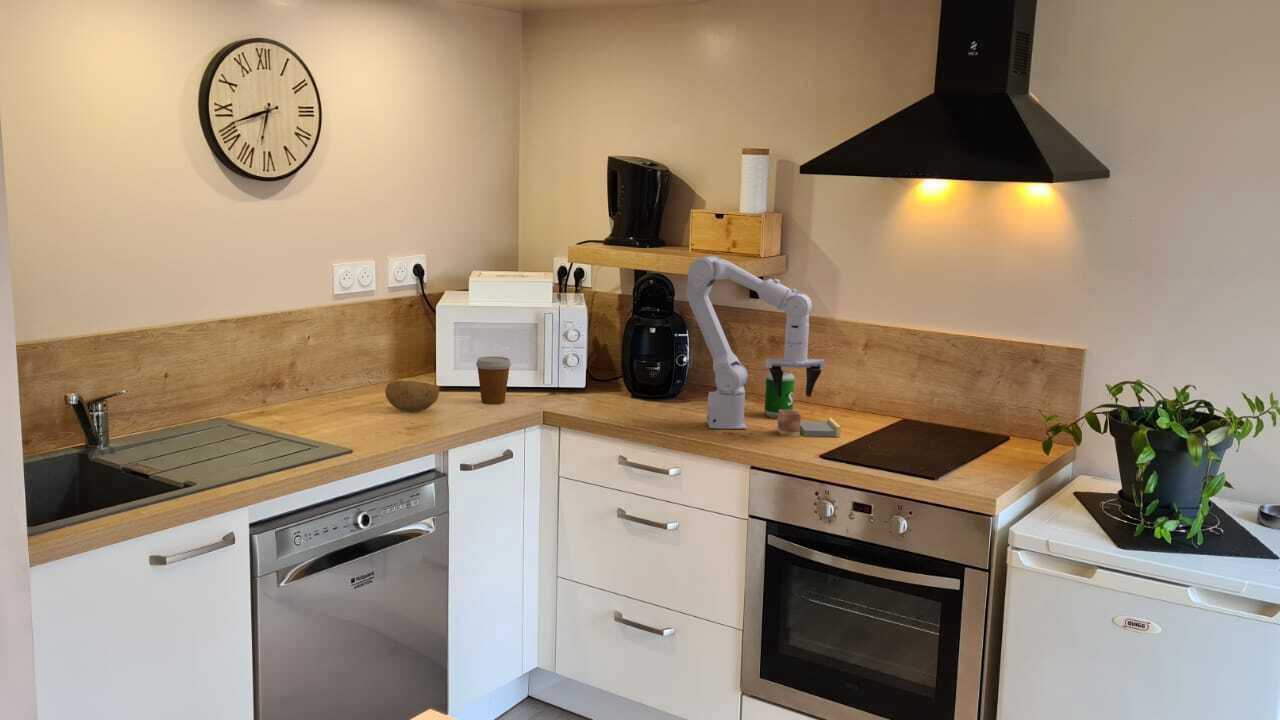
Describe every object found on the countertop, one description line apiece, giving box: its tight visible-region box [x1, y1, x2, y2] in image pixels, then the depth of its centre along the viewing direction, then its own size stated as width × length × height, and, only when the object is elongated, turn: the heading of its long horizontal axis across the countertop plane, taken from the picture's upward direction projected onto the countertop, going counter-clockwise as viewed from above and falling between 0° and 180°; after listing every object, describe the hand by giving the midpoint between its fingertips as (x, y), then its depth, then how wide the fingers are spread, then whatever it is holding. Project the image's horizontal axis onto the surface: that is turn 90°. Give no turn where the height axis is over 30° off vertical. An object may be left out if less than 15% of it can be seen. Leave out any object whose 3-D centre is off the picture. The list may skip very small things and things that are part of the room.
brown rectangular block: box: [776, 409, 802, 437], centre depth 282 cm, size 4×6×6 cm
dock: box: [800, 417, 842, 438], centre depth 285 cm, size 9×10×3 cm
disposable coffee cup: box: [475, 356, 512, 405], centre depth 306 cm, size 10×10×12 cm
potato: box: [384, 380, 440, 413], centre depth 293 cm, size 10×14×8 cm
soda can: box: [764, 370, 795, 419], centre depth 301 cm, size 8×8×12 cm
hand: (793, 396), depth 281 cm, fingers open, 7 cm apart
